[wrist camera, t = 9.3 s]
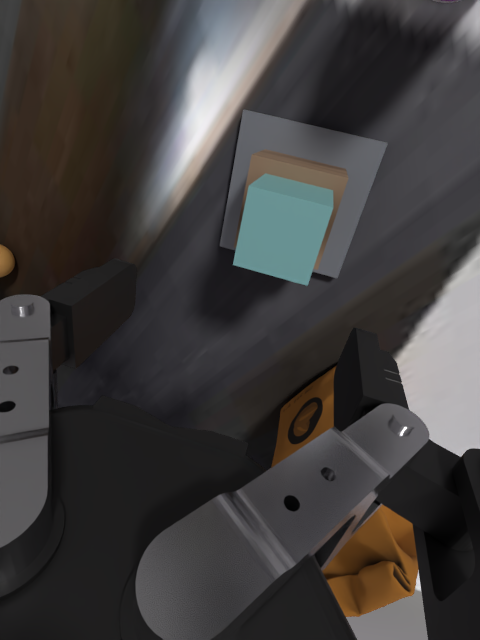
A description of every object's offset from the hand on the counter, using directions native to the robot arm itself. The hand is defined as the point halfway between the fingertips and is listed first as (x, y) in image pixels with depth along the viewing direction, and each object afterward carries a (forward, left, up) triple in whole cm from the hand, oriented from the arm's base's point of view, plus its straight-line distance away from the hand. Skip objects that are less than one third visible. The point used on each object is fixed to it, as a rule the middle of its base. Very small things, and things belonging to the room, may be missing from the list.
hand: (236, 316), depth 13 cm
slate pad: (0, 0, -23) cm, 23 cm away
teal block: (0, 0, -16) cm, 16 cm away
